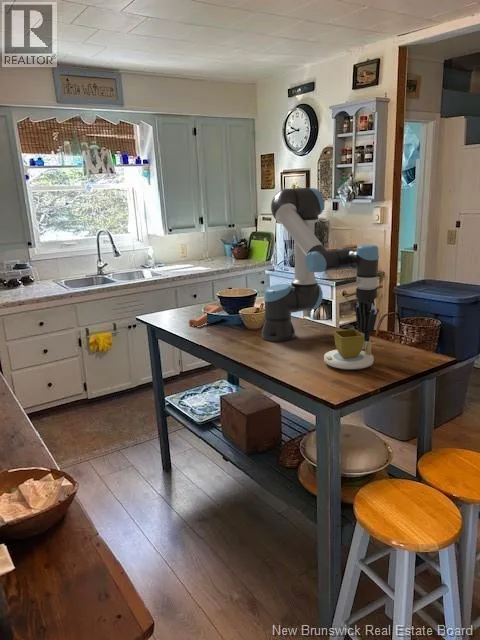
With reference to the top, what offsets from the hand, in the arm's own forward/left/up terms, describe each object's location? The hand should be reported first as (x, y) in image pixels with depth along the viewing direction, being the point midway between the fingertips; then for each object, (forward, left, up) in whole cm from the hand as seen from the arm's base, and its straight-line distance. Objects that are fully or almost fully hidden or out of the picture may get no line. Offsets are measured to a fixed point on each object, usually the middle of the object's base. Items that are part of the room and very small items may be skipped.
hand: (364, 348), depth 181 cm
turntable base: (+2, -8, -5) cm, 9 cm away
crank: (-83, -39, -5) cm, 92 cm away
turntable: (+2, -8, -3) cm, 9 cm away
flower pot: (+2, -8, -2) cm, 8 cm away
